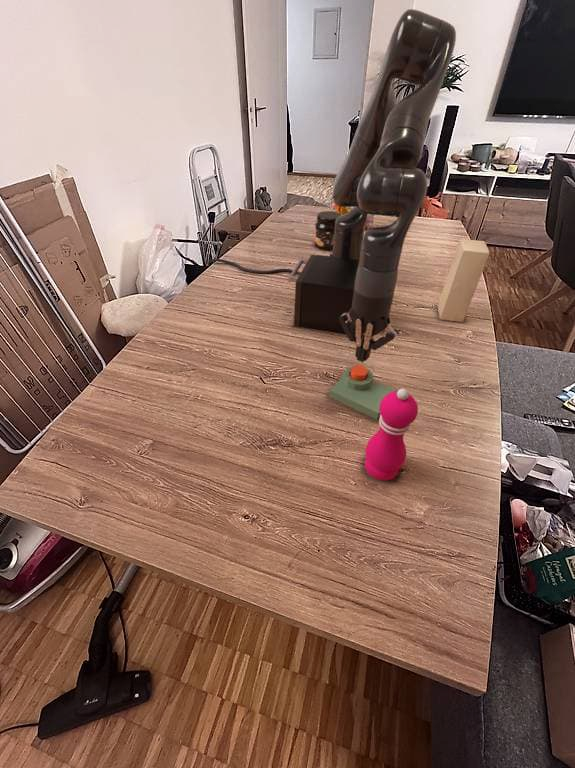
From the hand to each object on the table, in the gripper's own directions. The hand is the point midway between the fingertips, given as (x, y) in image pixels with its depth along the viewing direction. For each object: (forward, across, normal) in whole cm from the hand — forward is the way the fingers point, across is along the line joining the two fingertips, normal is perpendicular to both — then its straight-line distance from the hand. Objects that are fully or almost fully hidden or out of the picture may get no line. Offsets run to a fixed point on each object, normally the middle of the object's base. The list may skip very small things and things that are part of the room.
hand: (361, 359), depth 82 cm
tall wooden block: (+9, -7, -46) cm, 47 cm away
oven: (+8, +22, -24) cm, 33 cm away
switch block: (+9, -2, +2) cm, 9 cm away
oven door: (+8, +31, -21) cm, 38 cm away
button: (+5, 0, 0) cm, 5 cm away
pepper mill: (+9, -14, +17) cm, 24 cm away
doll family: (+8, +52, -91) cm, 105 cm away
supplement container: (+8, +50, -68) cm, 85 cm away
